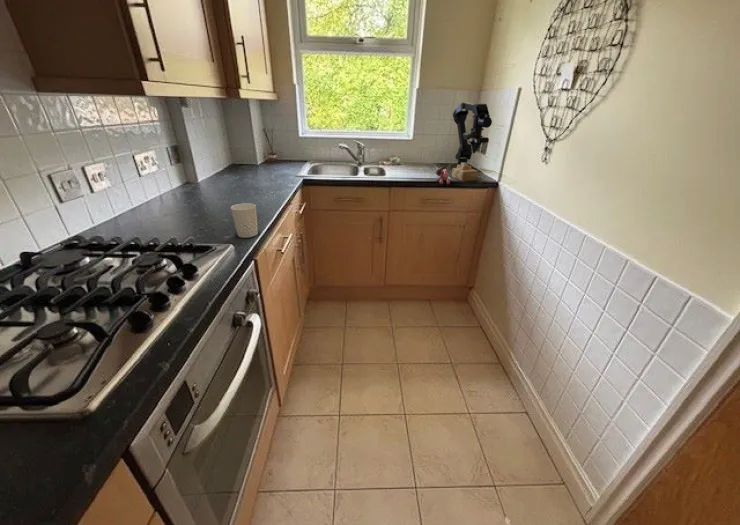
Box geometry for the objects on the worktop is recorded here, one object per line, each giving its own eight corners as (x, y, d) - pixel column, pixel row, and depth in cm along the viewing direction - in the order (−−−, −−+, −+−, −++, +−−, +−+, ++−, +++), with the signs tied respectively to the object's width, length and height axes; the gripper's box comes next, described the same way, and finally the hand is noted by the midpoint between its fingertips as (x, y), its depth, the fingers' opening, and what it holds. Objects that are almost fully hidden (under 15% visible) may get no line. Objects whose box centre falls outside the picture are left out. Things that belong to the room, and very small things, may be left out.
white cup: (243, 240, 110) (238, 211, 105) (231, 234, 114) (226, 206, 110) (264, 234, 115) (260, 206, 111) (252, 228, 120) (247, 201, 115)
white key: (460, 165, 198) (461, 162, 197) (465, 165, 199) (465, 162, 198) (463, 166, 196) (463, 163, 195) (467, 166, 196) (468, 163, 196)
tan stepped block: (451, 176, 201) (452, 165, 198) (465, 175, 204) (467, 164, 201) (462, 181, 191) (463, 168, 188) (477, 180, 194) (478, 167, 191)
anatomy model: (437, 180, 178) (436, 155, 182) (433, 192, 191) (432, 169, 195) (456, 180, 178) (455, 155, 182) (450, 192, 191) (449, 169, 195)
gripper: (457, 125, 206) (454, 151, 213) (475, 127, 191) (471, 155, 198) (473, 125, 210) (469, 150, 217) (491, 127, 194) (487, 155, 201)
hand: (473, 153), depth 208 cm, fingers closed
